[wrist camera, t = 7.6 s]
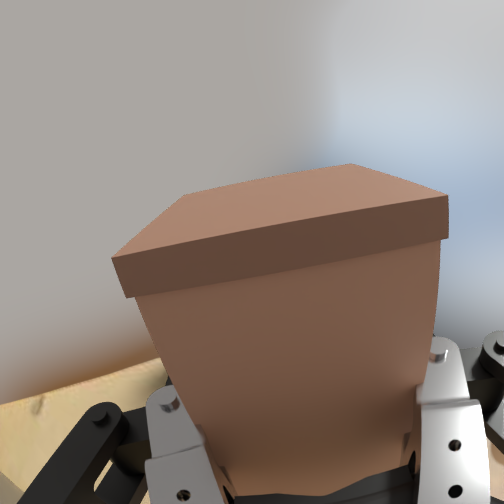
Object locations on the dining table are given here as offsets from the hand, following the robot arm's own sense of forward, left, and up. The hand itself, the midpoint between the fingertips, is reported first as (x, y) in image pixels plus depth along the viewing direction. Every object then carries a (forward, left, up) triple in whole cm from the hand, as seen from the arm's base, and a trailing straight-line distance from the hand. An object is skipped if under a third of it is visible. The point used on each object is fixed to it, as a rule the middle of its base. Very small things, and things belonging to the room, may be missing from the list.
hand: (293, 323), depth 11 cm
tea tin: (+1, -2, -7) cm, 7 cm away
